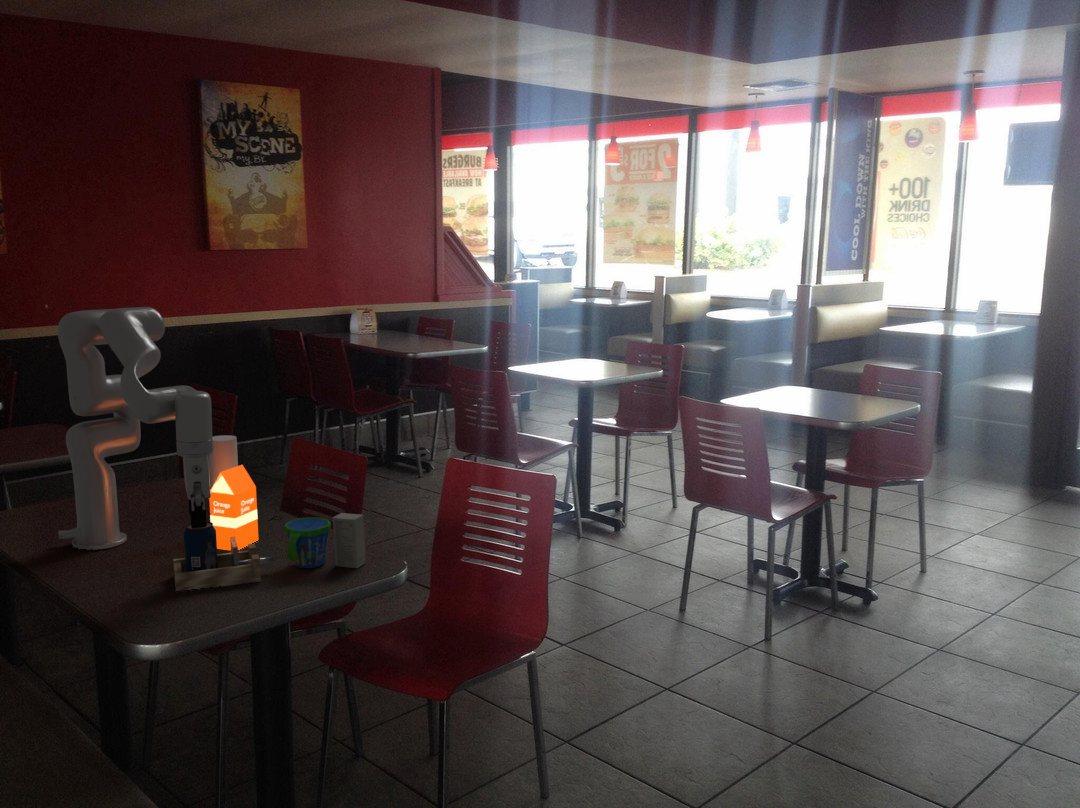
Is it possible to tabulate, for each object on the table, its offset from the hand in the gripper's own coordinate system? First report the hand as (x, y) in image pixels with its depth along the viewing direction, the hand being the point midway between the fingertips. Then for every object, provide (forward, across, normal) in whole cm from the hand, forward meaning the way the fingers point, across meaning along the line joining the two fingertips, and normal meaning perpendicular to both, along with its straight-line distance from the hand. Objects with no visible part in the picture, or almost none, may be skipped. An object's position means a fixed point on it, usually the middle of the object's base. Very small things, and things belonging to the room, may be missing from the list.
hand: (197, 520), depth 209 cm
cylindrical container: (+15, +37, -9) cm, 41 cm away
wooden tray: (+14, -1, -4) cm, 14 cm away
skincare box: (+14, -3, -34) cm, 36 cm away
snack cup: (+14, +1, -25) cm, 28 cm away
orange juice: (+15, +23, -10) cm, 29 cm away
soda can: (+13, -1, 0) cm, 13 cm away
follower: (+12, -1, -12) cm, 17 cm away
